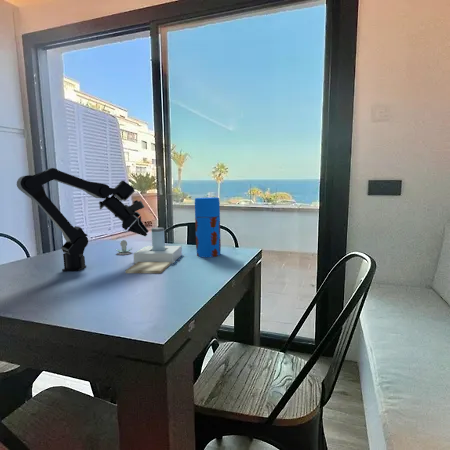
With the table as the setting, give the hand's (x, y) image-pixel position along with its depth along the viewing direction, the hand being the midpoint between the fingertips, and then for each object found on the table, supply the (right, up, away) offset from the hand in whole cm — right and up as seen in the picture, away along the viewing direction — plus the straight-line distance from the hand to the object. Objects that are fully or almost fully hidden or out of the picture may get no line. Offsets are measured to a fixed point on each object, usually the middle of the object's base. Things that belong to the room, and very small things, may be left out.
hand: (147, 233), depth 137 cm
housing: (+5, -11, +2) cm, 12 cm away
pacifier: (-14, -10, +14) cm, 22 cm away
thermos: (+25, -10, +8) cm, 28 cm away
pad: (+4, -13, -14) cm, 19 cm away
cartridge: (+5, -11, +2) cm, 12 cm away
